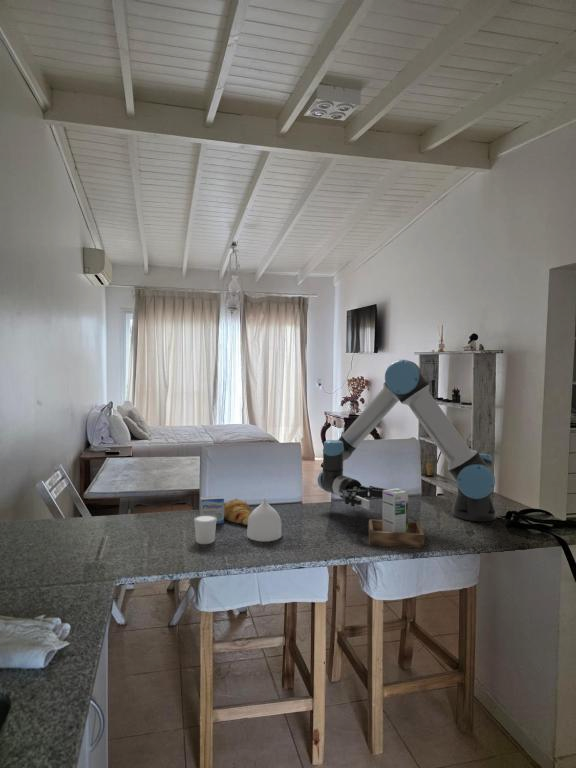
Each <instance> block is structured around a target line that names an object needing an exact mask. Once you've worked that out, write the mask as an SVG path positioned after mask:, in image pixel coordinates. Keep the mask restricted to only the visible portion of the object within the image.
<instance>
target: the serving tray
mask: <svg viewBox="0 0 576 768" xmlns="http://www.w3.org/2000/svg"><path fill="white" fill-rule="evenodd" d="M382 522H383V519H374V518H373V519H368V530H367V531H368V539H369V546H377V545H381V547H395V546H401V547H400V548H412V547H415V549H417V548H418V549H424V547H425V534H424V531H423V529H422V526H421V524H420V522H419V521H410V520H408V533H399V532H382V525H383V524H382Z"/></svg>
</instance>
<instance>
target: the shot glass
mask: <svg viewBox="0 0 576 768" xmlns="http://www.w3.org/2000/svg"><path fill="white" fill-rule="evenodd" d="M216 520H217V518H216V517H214V516H209V515H205V516H200V515H198V516H196V517H194V518H193V522H194V532H195V533H194V534H195V543H196V544H200V545H208V544H212V543H214V542H215V538H216V529H217V527H216V526H217V524H216Z"/></svg>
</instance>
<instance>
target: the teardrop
mask: <svg viewBox="0 0 576 768" xmlns="http://www.w3.org/2000/svg"><path fill="white" fill-rule="evenodd" d="M251 512H252V513H251V514H250V516H249V519H248V525H247V529H246V537H247V538H248V539H250V540H252V541H256V542H271V541H277V540H278V539H280V538H281V537H282V533H283V532H282V520H281V516H280V514H279V513H278V512H277V510H276V509H275V508H274V507H272V505H270V504H269V503H268V502H267V500H266V498H264V499H263V501H262V503H260V505H258V506H257V507H255V508H254V509H253V510H252V511H251Z"/></svg>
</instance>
